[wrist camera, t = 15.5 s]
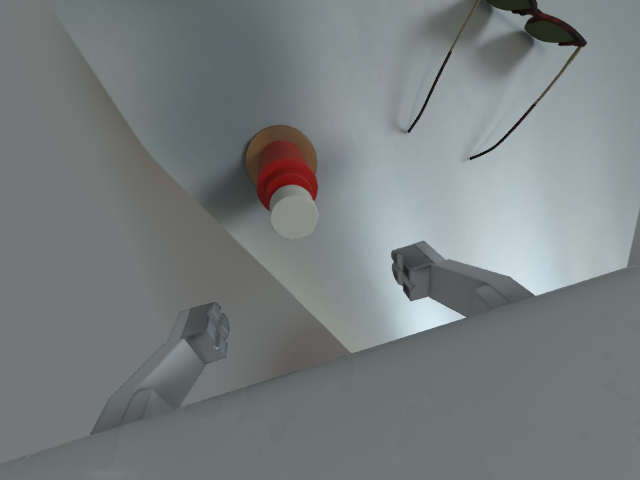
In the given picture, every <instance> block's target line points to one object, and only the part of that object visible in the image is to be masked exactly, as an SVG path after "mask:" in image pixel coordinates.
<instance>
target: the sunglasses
mask: <svg viewBox="0 0 640 480" xmlns="http://www.w3.org/2000/svg"><path fill="white" fill-rule="evenodd" d="M480 1H481V0H478V1H477V3H476V5H475V6H474V8H473V10H472V11H471V13H470V15H469V17H468V18H467V20H466V22H465V24H464V25H463V27H462V29H461V31H460V32H459V34H458V36H457V38H456V40H455V41H454V43H453V45H452V47H451V49H450V51H449V53H448V55H447V57H446V59H445V61H444V63H443V65H442V67H441V69H440V71H439V73H438V75H437V77H436V79H435V81H434V83H433V86H432V88H431V90H430V92H429V94H428V96H427V99H426V101H425V103H424V105H423V107H422V110H421V111H420V113H419V115H418V117H417V118H416V120H415V121H414V123H413V124H412V125H411V127H410V128H409V130H408V133H410V131H411V130H412V128H413V127H414V125H415V124H416V123H417V121H418V120H419V118H420V116H421V115H422V113H423V111H424V109H425V107H426V105H427V102H428V100H429V98H430V96H431V94H432V92H433V89H434V87H435V85H436V83H437V81H438V79H439V77H440V75H441V73H442V71H443V69H444V67H445V65H446V63H447V61H448V59H449V57H450V55H451V53H452V50H453V48H454V46H455V44H456V42H457V40H458V38H459V36H460V35H461V33H462V31H463V29H464V27H465V26H466V24H467V22H468V20H469V19H470V17H471V15H472V14H473V12H474V10H475V9H476V7H477V5H478V4H479V2H480ZM485 1H487V2H488V3H489V4H491V5H492V6H494V7H496V8H498V9H502V10H507V11H512V13H514V14H520V15H521V16H524V15H528V14H530V15H532V16H533V17H532V18H530V19H529V20H528V21H527V23H526V25H525V27H524V28H525V30H526V32H527V33H529V34H530V35H531V36H533V37H534V38H536V39H538V40H541V41H544V42H550V43H559V44H558V45H559V46H570V45H574V46H578V48H577V49H576V50H575V52H574V53H573V54H572V56H571V57H570V58H569V60H568V61H567V63H566V64H565V66H564V67H563V69H562V70H561V71H560V73H559V74H558V75H557V76H556V78H555V79H554V80H553V81H552V83H551V84H550V85H549V86H548V88H547V89H546V90H545V91H544V92H543V94H542V95H541V96H540V97H539V98H538V99H537V101H536V102H535V103H534V104H533V105H532V106H531V107H530V108H529V109H528V111H527V112H526V113H525V114H524V115H523V116H522V118H521V119H520V120H519V121H518V122H517V123H516V124H515V125H514V126H513V127H512V129H511V130H510V131H509V132H508V133H507V134H506V135H505V136H504V137H503V138H502V139H501V140H500V141H499V142H498V143H497V144H495V145H494V146H493V147H492V148H490V149H488V150H486V151H484V152H482V153H480V154H478V155H475V156H473V157H470V160H472V159H474V158H477V157H479V156H481V155H484V154H486V153H488V152H490V151H492V150H493V149H494V148H496V147H497V146H498V145H499V144H500V143H502V142H503V141H504V140H505V139H506V138H507V137H508V136H509V135H510V134H511V132H512V131H513V130H514V129H515V128H516V127H517V126H518V125H519V124H520V123H521V122H522V120H523V119H524V118H525V117H526V116H527V115H528V114H529V112H530V111H531V110H532V109H533V108H534V107H535V105H536V104H537V103H538V102H539V101H540V100H541V98H542V97H543V96H544V95H545V94H546V93H547V91H548V90H549V89H550V88H551V86H552V85H553V84H554V83H555V82H556V80H557V79H558V78H559V77H560V75H561V74H562V73H563V72H564V70H565V69H566V68H567V66H568V65H569V64H570V63H571V62H572V61H573V59H574V58H575V56H576V55H577V54H578V52H579V51H580V50H581V48H582V47H584V46H585V45H586V44H587V42H586V41H585V39H584V38H583V37H582V36H581V35H580V34H579V33H578V32H577V31H576V30H575V29H574V28H573V27H571V26H570V25H569V24H567V23H566V22H564V21H562V20H560V19H558V18H556V17H553V16H550V15H547V14H544V13H543V12H541V11H540V10H539V9H538V8H537V2H536V0H485Z"/></svg>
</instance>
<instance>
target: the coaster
mask: <svg viewBox="0 0 640 480" xmlns="http://www.w3.org/2000/svg"><path fill="white" fill-rule="evenodd" d="M281 140H282V141H288V142H290V143H292V144H294V145H295V146H296V147H297V148H298V149H299V150H300V152H301V153H302V155H303V156H304V158H305V160H306V161H307V163H308V164H309V166H310V168H311V169H312V171H313V173H314V174H315V173H316V169H317V158H316V153H315V150H314V147H313V145H312V144H311V142H310V141H309V139H308V138H307V137H306V136H305V135H304V134H303V133H301V132H300V131H298V130H297V129H295V128H292V127H289V126H284V125H276V126H271V127H268V128H265V129H263V130H262V131H260V132H259V133H258V134H257V135H255V136H254V138H253V139H252V140H251V142H250V144H249V146H248V149H247V152H246V169H247V172H248V175H249V177H250V179H251V181H252V182H253V183H254V185H255V186H256V187H257V179H258V170H259V161H260V156H261V153H262V151H263V149H264V148H265V147H266V146H267V145H268V144H270V143H272V142H274V141H281Z"/></svg>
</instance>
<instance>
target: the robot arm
mask: <svg viewBox="0 0 640 480" xmlns="http://www.w3.org/2000/svg"><path fill="white" fill-rule="evenodd" d="M391 258H392V259H393V260H394V263H393V264H392V271H393V275H394V277H395V279H396V281H397V283H398V284H399V285H402V286H403V291H404V293H405V294H406V295H407V297H408V298H409V299H410V301H413V300H417V299H421V298H424V297H428V296H429V297H430V298H432V299H434V300H435V301H437V302H439V303H441V304H443V305H445V306H447V307H449V308H450V309H452V310H454V311H456V312H458V313H460V314H462V315H463V316H465V317H467V318H464V319H461V320H458V321H454V322H451V323H448V324H445V325H442V326H438V327H435V328H432V329H429V330H426V331H422V332H419V333H416V334H413V335H410V336H406V337H403V338H400V339H397V340H394V341H390V342H387V343H384V344H381V345H378V346H374V347H371V348H368V349H365V350H362V351H358V352H355V353H352V354H349V355H346V356H342V357H339V358H336V359H333V360H330V361H327V362H323V363H320V364H317V365H314V366H311V367H307V368H305V369H301V370H298V371H295V372H291V373H288V374H285V375H282V376H279V377H276V378H272V379H269V380H266V381H263V382H259V383H256V384H253V385H250V386H247V387H244V388H240V389H237V390H234V391H231V392H227V393H225V394H221V395H218V396H215V397H212V398H208V399H205V400H202V401H199V402H196V403H192V404H189V405H186V406H183V407H180V405H181V404H182V402H183V401H184V399H185V398H186V396H187V394H188V393H189V391H190V390H191V388H192V387H193V385H194V383H195V382H196V380H197V379H198V377H199V376H200V374H201V372H202V371H203V369H204V368H205V366H206V364H208V363H211V362H214V361H217V360H220V359H223V358H226V352H227V345H228V343H227V342H226V338H227V337H228V336H229V332H230V326H229V321H228V318H227V317H226V315H225V314H223V313H221V312H220V309H221V307H220V305H219V304H218V303H217V302H213V303H209V304H206V305H202V306H198V307H194V308H191V309H188V310H184V311H181V312H180V313H179V314H178V317H177V319H176V322H175V324H174V327H173V329H172V332H171V334H170V337H169V339H168V342H167V343H165V344H163V345H162V346H161V347H160V348H159V349H158V350H157V351H156V352H155V353H154V354H153V355H152V356H151V357H150V358H149V359H148V360H147V361H146V362H145V363H144V364H143V365H142V366H141V367H140V368H139V369H138V370H137V371H136V372H135V373H134V374H133V375H132V376H131V377H130V378H129V379H128V380H127V381H126V382H125V383H124V384H123V385H122V386H121V387H120V388H119V389H118V390H117V391H116V392H115V393H114V394H113V395H112V396H111V397H110V398H109V399H108V401H107V403H106V405H105V407H104V409H103V411H102V413H101V415H100V417H99V418H98V420H97V422H96V424H95V426H94V428H93V430H92V432H91V434H90V436H87V437H84V438H81V439H77V440H74V441H71V442H68V443H65V444H62V445H58V446H55V447H52V448H49V449H46V450H42V451H39V452H36V453H33V454H30V455H26V456H24V457H20V458H17V459H14V460H11V461H7V462H4V463H1V464H0V480H640V265H636V266H631V267H627V268H623V269H620V270H617V271H614V272H610V273H607V274H604V275H601V276H598V277H595V278H591V279H588V280H585V281H582V282H579V283H576V284H572V285H569V286H566V287H563V288H560V289H556V290H553V291H550V292H547V293H544V294H541V295H537V296H535V295H534V294H532V293H531V292H530V291H528V290H527V289H525V288H524V287H523V286H521V285H520V284H519V283H517V282H516V281H515V280H513V279H512V278H511V277H509V276H505V275H502V274H498V273H495V272H491V271H488V270H484V269H481V268H478V267H474V266H471V265H467V264H464V263H460V262H457V261H453V260H450V259H448V260H445V259H444V258H443V257H442V256H441V255H439V254H438V253H437V252H436V251H435V250H434V249H433V248H432V247H431V246H429V245H428V244H427V243H426V242H425V241H421V242H418V243H415V244H412V245H409V246H406V247H402V248H399V249H396V250H392V252H391ZM179 407H180V408H179Z"/></svg>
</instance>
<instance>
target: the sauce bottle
mask: <svg viewBox="0 0 640 480" xmlns="http://www.w3.org/2000/svg"><path fill="white" fill-rule="evenodd" d="M317 190H318V184H317V179H316V177H315V174H314V173H313V171H312V169H311V168H310V166H309V164H308V163H307V161H306V160H305V158H304V156H303V155H302V153H301V152H300V150H299V149H298V148H297V147H296V146H295V145H294V144H292V143H290V142H288V141H282V140H281V141H274V142H272V143H270V144H268V145H267V146H266V147H265V148H264V149H263V151H262V153H261V156H260V161H259V170H258V179H257V194H258V197H259V199H260V201H261V203H262V204H263V206H264V207H265V208H266V209H267V210H269V211H270V222H271V226H272V228H273V229H274V231H275V232H276V233H277V234H278V235H280V236H282V237H284V238H287V239H301V238H304V237H306V236H307V235H309V234H310V233H311V232H312V231H313V230H314V229H315V227H316V225H317V223H318V210H317V208H316V206H315V203H314V200H315V198H316V195H317Z"/></svg>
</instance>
